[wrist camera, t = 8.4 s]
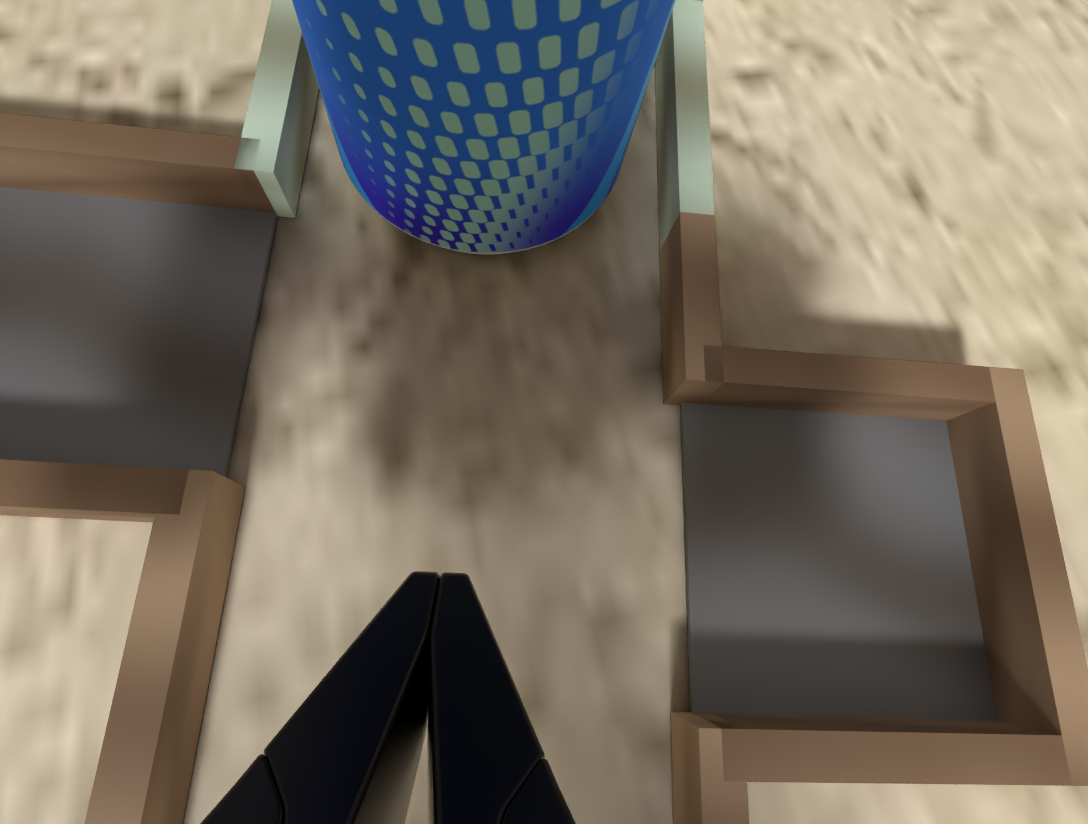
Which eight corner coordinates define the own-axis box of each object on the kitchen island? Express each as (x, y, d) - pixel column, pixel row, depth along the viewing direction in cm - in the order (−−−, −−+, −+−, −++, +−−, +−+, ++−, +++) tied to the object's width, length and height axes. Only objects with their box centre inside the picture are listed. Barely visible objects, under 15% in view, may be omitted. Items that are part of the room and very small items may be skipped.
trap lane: (1079, 1007, 14) (1305, 1160, 10) (-390, 1041, 11) (-831, 1265, 7) (904, 56, 22) (992, -55, 19) (40, -51, 20) (-64, -206, 16)
